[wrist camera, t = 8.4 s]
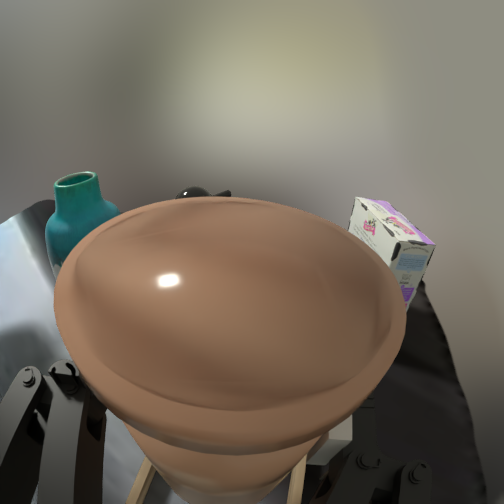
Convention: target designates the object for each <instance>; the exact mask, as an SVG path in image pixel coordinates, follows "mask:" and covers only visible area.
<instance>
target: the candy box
mask: <svg viewBox="0 0 504 504" xmlns="http://www.w3.org/2000/svg"><path fill="white" fill-rule="evenodd" d="M348 232H350V233H352V234H353V235H355V236H356V237H358V238H359V239H360V240H362V241H363V242H364V243H366V244H367V245H368V246H369V247H370V248H371V249H373V250H374V251H375V252H376V253H377V254H378V255H379V256H380V257H381V258H382V260H383V261H384V262H385V263H386V264H387V265H388V267H389V268H390V270H391V271H392V273H393V274H394V276H395V277H396V279H397V282H398V284H399V286H400V288H401V290H402V294H403V297H404V301H405V306H406V312H407V310H408V308H409V306H410V304H411V302H412V300H413V298H414V296H415V293H416V291H417V289H418V287H419V285H420V282H421V280H422V278H423V275H424V273H425V271H426V268H427V266H428V264H429V261H430V258H431V256H432V254H433V251H434V248H435V246H436V245H435V244H434V243H433V242H432V241H431V240H430V239H429V238H427V237H426V236H425V235H424V234H423V233H422V232H421V231H420V230H419V229H418V228H416V227H415V226H414V225H413V224H412V223H411V222H410V221H409V220H408V219H406V218H405V217H404V216H403V215H402V214H401V213H400V212H398V211H397V210H396V209H395V208H394V207H393V206H392V205H390V204H389V203H388V202H386V201H380V200H374V199H367V198H360V197H355V201H354V205H353V210H352V214H351V218H350V222H349V227H348Z"/></svg>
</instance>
